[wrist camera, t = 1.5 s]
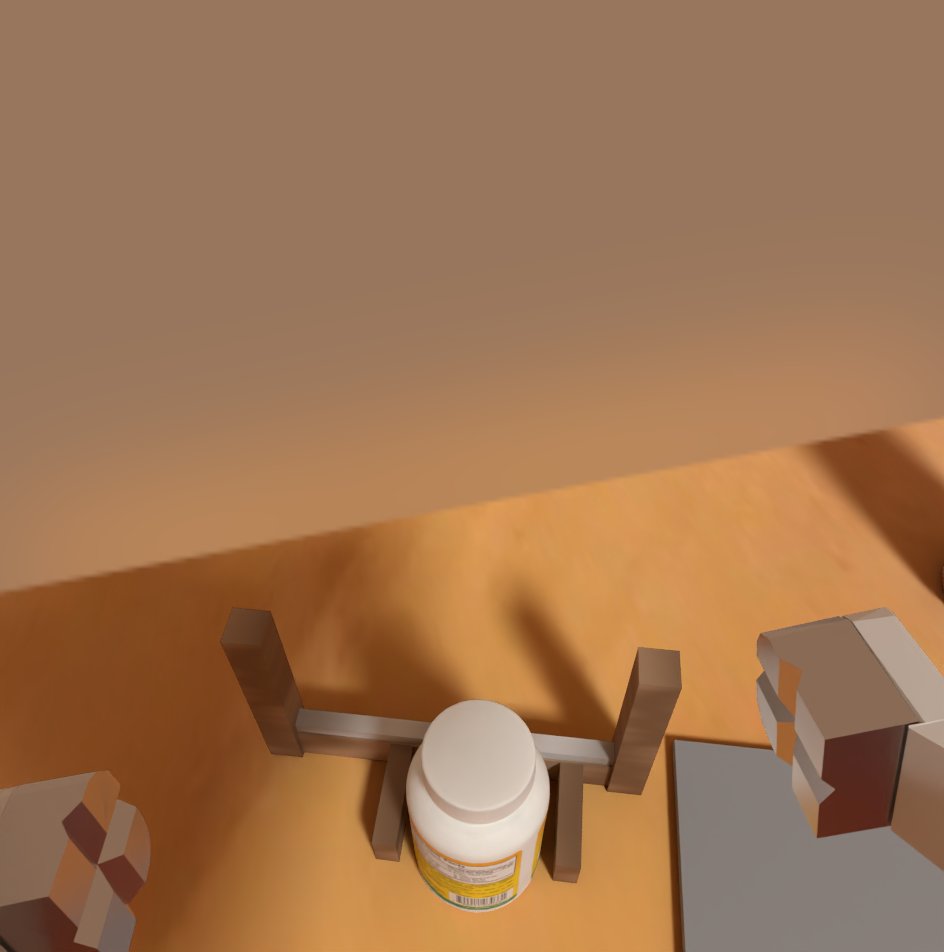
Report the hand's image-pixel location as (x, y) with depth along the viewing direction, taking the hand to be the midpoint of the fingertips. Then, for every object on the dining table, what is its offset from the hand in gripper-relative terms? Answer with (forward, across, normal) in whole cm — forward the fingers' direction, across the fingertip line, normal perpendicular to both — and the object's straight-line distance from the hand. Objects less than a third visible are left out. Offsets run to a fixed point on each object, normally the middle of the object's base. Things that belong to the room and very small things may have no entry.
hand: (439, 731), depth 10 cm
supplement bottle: (+14, +3, +25) cm, 28 cm away
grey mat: (+10, -11, +28) cm, 31 cm away
